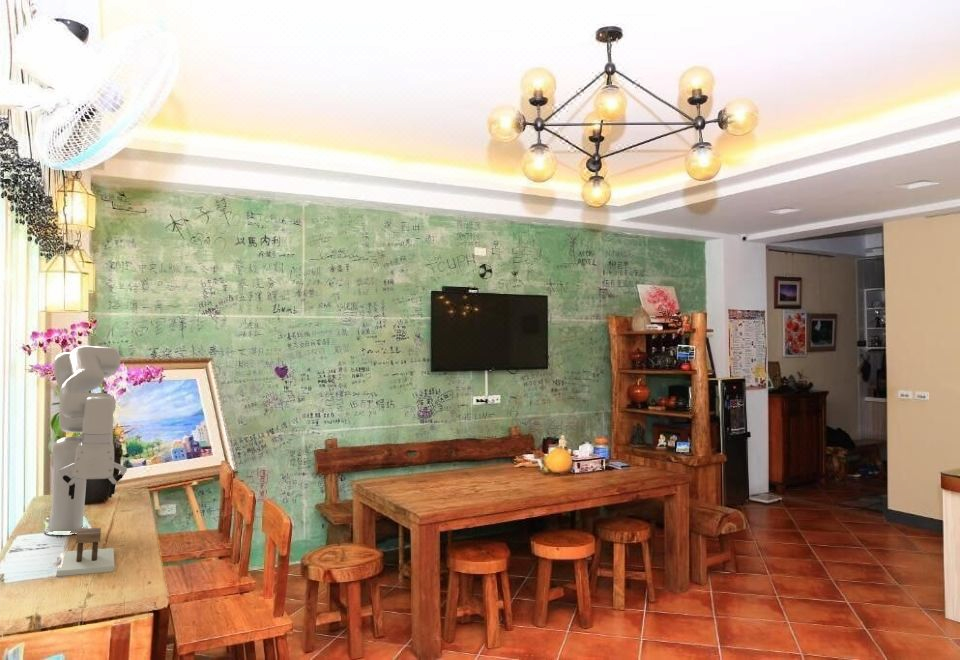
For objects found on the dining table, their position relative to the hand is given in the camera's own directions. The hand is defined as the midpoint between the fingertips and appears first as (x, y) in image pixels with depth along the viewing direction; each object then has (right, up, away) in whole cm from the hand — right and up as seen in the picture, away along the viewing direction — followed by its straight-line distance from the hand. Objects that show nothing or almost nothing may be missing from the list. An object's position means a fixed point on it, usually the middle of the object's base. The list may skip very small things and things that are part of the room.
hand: (91, 497), depth 200 cm
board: (-1, -19, -1) cm, 19 cm away
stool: (-1, -18, -1) cm, 18 cm away
